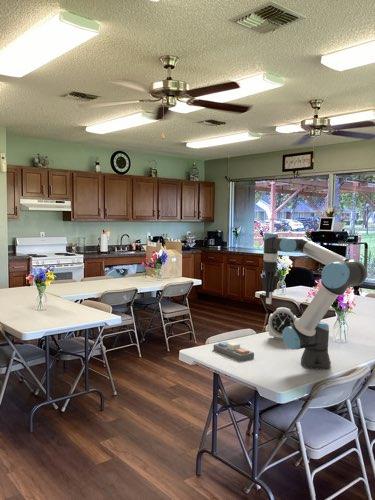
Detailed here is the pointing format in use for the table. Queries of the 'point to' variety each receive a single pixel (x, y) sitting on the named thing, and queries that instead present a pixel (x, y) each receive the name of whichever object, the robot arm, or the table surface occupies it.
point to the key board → (233, 353)
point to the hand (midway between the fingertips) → (268, 303)
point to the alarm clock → (280, 322)
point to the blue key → (223, 344)
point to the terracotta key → (242, 351)
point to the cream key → (233, 346)
